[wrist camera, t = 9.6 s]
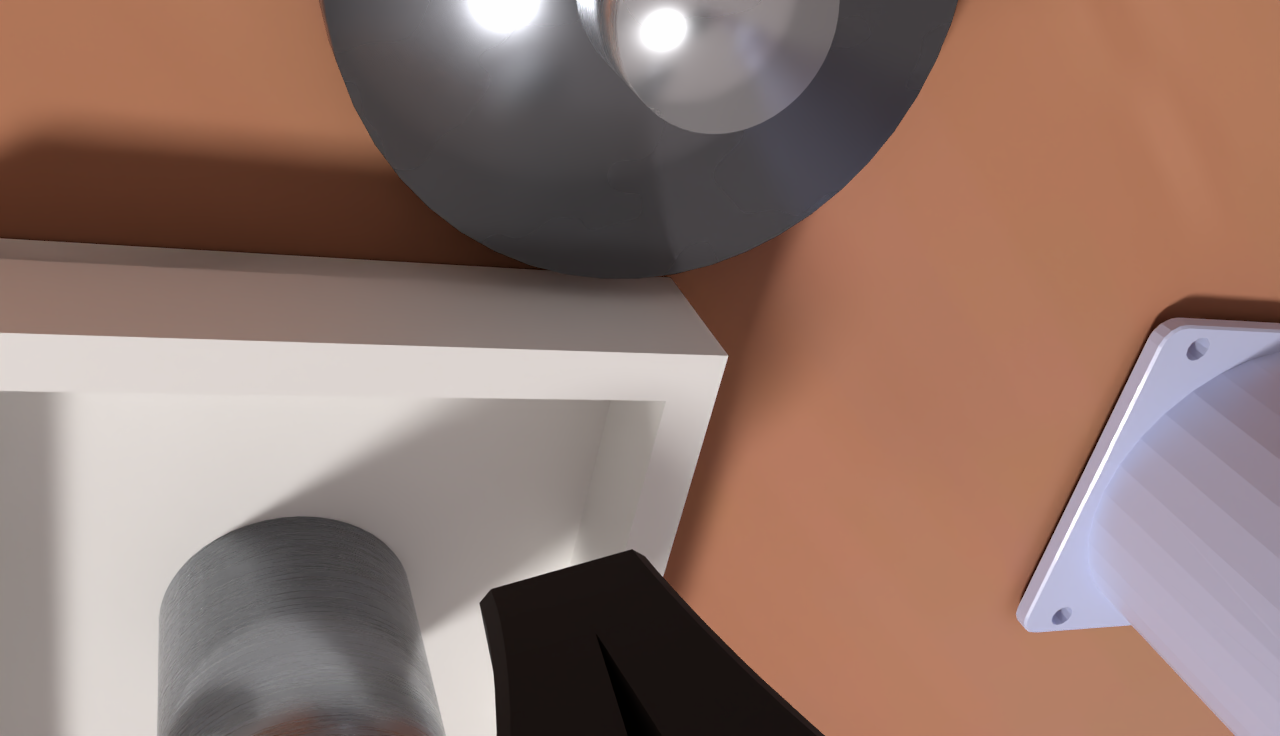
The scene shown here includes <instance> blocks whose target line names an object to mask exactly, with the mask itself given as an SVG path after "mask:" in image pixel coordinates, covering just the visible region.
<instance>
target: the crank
mask: <svg viewBox="0 0 1280 736" xmlns="http://www.w3.org/2000/svg"><path fill="white" fill-rule="evenodd" d="M839 3H840V0H577V6H578V12H579V16H580V19H581V23H582V26H583V28H584V31H585V33H586V35H587V37H588V39H589V41H590V42H591V44H592V46H593V47H594V49H595V50H596V51H597V53H598V54H599V55H600V56H601V57H602V58H603V60H604V61H605V62H606V63H607V64H608V65H609V66H610V67H611V68H612V69H613V70H614V71H615V72H616V74H617V75H618V76H619V77H620V78H621V79H622V80H623V81H624V82H625V83H626V84H627V85H628V86H629V87H630V88H631V90H632V91H633V92H634V93H635V94H636V95H637V96H638V97H639V98H640V99H641V100H642V101H643V102H644V103H645V104H646V106H647V107H648V108H650V109H651V110H652V111H653V112H654V113H655V114H656V115H658V116H659V117H660V118H662V119H664V120H665V121H667V122H668V123H670V124H672V125H675V126H677V127H679V128H681V129H685V130H688V131H692V132H696V133H704V134H724V133H731V132H737V131H740V130H744V129H748V128H750V127H753V126H755V125H758V124H760V123H762V122H764V121H766V120H768V119H770V118H771V117H773V116H775V115H776V114H778V113H779V112H781V111H782V110H783V109H785V108H786V107H787V106H788V105H790V104H791V103H792V102H793V101H794V100H795V99H796V98H797V97H798V96H799V95H800V94H801V93H802V92H803V91H804V90H805V89H806V88H807V86H808V85H809V84H810V82H811V81H812V80H813V78H814V77H815V75H816V74H817V72H818V71H819V69H820V67H821V66H822V64H823V62H824V60H825V58H826V56H827V53H828V51H829V49H830V47H831V44H832V41H833V37H834V34H835V31H836V26H837V21H838V14H839Z"/></svg>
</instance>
